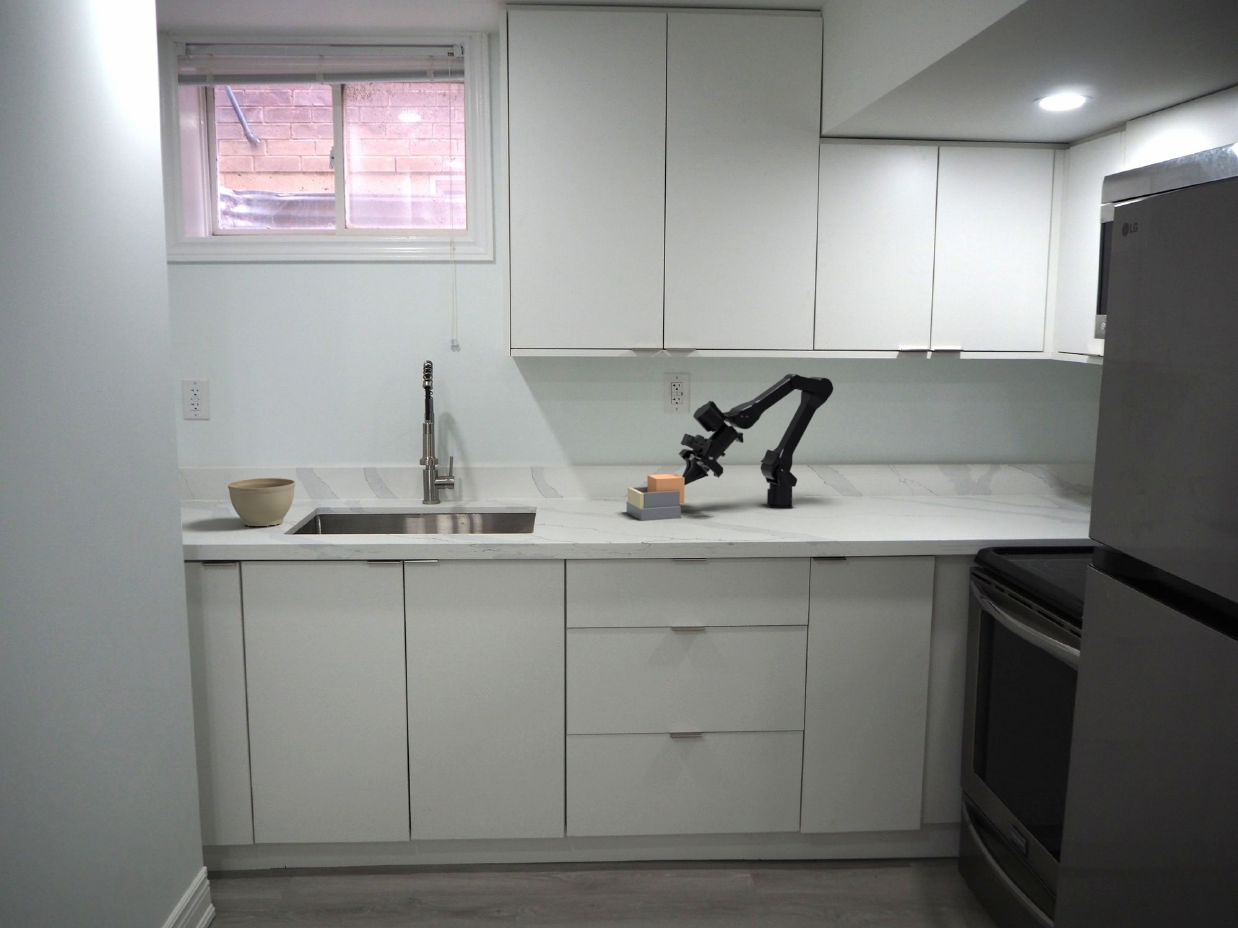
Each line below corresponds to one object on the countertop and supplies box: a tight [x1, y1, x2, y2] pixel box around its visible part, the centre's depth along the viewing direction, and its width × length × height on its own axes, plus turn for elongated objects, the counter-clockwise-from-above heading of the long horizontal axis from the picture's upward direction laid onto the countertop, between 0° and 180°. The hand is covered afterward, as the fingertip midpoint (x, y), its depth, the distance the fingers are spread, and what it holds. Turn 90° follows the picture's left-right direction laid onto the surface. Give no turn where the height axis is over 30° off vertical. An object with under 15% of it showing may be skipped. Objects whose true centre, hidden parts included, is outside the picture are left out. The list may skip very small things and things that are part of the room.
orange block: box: [646, 473, 685, 505], centre depth 252 cm, size 8×7×7 cm
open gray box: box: [626, 486, 682, 522], centre depth 251 cm, size 11×12×7 cm
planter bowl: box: [227, 477, 296, 527], centre depth 240 cm, size 16×16×11 cm
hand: (680, 485), depth 253 cm, fingers closed, pressing on orange block
